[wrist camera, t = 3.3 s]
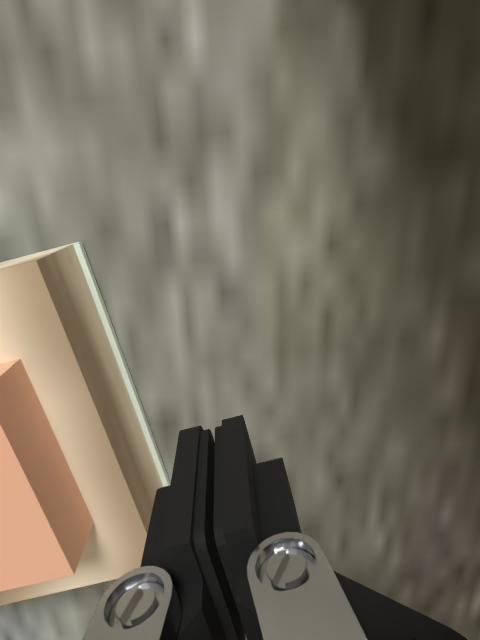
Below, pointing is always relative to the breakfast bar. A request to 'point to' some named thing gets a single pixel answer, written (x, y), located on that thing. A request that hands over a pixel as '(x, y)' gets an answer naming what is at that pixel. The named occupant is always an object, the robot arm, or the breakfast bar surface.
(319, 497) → the breakfast bar surface
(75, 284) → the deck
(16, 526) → the tile
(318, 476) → the breakfast bar surface
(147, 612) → the robot arm
